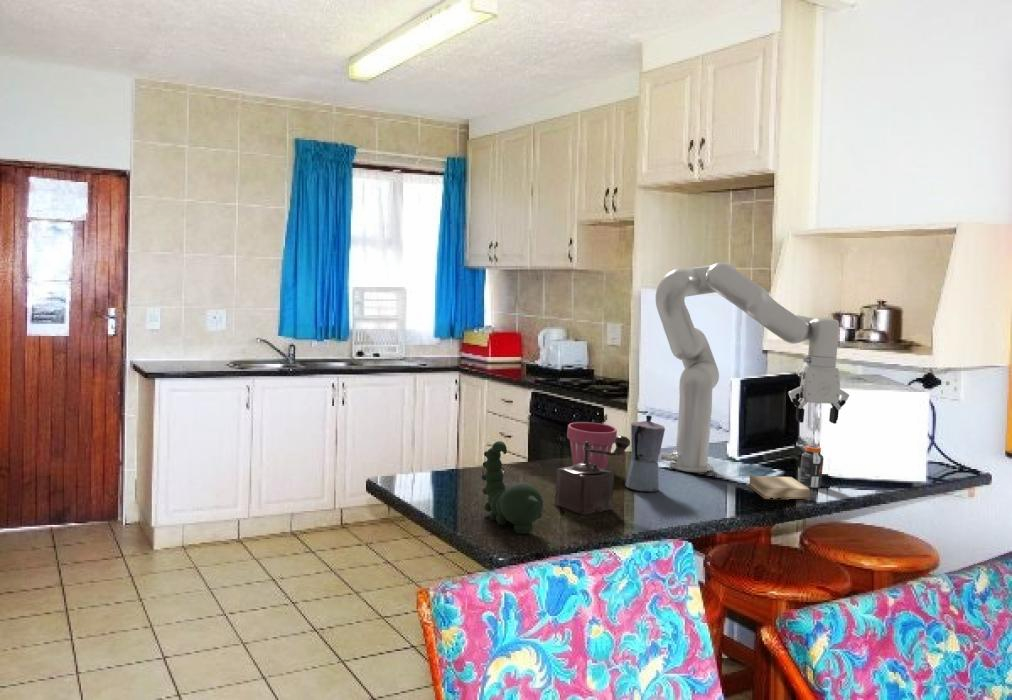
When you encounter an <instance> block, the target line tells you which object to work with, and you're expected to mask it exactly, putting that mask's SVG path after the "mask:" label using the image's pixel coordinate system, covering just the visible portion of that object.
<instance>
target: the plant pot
mask: <svg viewBox="0 0 1012 700" xmlns="http://www.w3.org/2000/svg"><path fill="white" fill-rule="evenodd" d="M566 432H567V433H566V437H567V439H568V440H569V443H570V451H571V452H570V453H571V458H572V466H574V465H576V464H578V463H581V462H583V461H584V458H585V450H584V447H585V445H584V443H585V442H586V441H587V442H589V443H590V444H589V448H590V449H592V450H593V449H594V450H602V451H607V452H612V449H613V445H614V444H615V442H614V441H615V438H616V437H617V436H618V430H617V428H616V427H615V426H613V425H610V424H605V423H600V422H589V421H576V422H571V423H569V424H567V431H566ZM609 458H610V455H605V454H600V453H591V452H589V451H588V462H589V463H594V465H597V467H598V468H601V469H604V470H606V468H607V465H608V461H609Z"/></svg>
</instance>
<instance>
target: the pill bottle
mask: <svg viewBox="0 0 1012 700" xmlns="http://www.w3.org/2000/svg"><path fill="white" fill-rule="evenodd" d="M821 451H822V448H821V446H817V445H812V444H811V445H806V446H805V451H804V452H803V453H802V454H801V459H800V460H801V461H800V468H799V469H800V470H799V479H798V480H799V481H798V482H800V483H801V484H803V485H805V486H806V487H808V488H811V489H813V488H815V489H816V488H821V486H822V478H823V467H824V459H825V458H824V456H823V454H821Z"/></svg>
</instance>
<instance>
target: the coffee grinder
mask: <svg viewBox="0 0 1012 700" xmlns="http://www.w3.org/2000/svg"><path fill="white" fill-rule="evenodd" d="M614 442H615V443H614V444H615V449H614V451H613V452H612V451H611V452H607V451H602V450H594V449H593V450H592V449H590V448H589V444H590V443H589V442H587V441H586V442H585V443H584V445H585V447H584V450H585V458H584V461H583V462H581V463H578V464H576V465H574V466H573V465H571V466H565V467H559V468H557V469H556V483H555V497H554V505H555V506H556V507H559V508H561V509H564V510H567V511H569V512H572V513H573V514H574V513H575V514H577V515H580V516H587V515H588V516H589V515H594V514H598V513H602V512H605V511H609V510H612V509H613V495H614V494H613V493H614V478H615V472H613V471H610V470H606V469H605V470H604V469H601V468H598V467H597V465H594V463H589V462H588V451H589V452H591V453H600V454H605V455H609V456H617V457H619V456H626V453H625V452H626V450H627V448H628V447H629V446H630V445H631V440H630V439H629V437H627V436H624V435H617V436H616V438H615V441H614Z"/></svg>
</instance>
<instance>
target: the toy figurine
mask: <svg viewBox="0 0 1012 700" xmlns="http://www.w3.org/2000/svg"><path fill="white" fill-rule="evenodd" d="M507 450H508V448H507V445H506V443H505V442H504V441H500V440H498V441H495V442H494V443H493V444H492V446H491V447H490V448H488V449H487V451H486V450H485V451H484V453H483V455H484V457H486V460H485V461H484V462H482V467H483V468H485V470H486V473H485V474H484V473H483V474H481V480H483V481H486V484H485V487H483V488H482V493H483V495H486V496H487V502H486V503H485V504H484V510H485V511H486V512H489V513H490V514H489V519H490V520H491V521H493V522H495V521H496V523H497V524H498V525H500V526H503V525H506V523H507V522H510V523H511V524H513V525H514V526H513V529H514V531H515V532H516V534H519V535H527V534H529V533H531V532H532V531H533V528H534V525H533V523H535V521H537V520H539V519H541V518H542V516H543V515H542V511H543V507H544V502H543V497H542V495H541V493H540V491H539V490H538V488H536V487H535V486H534V485H533V484H531V483H527V482H521V481H519V482H515V483H513V484H511V485H509V486H508V487H506V485H505V483H504V481H503V480H504V474H503V472H502V469H503V463H502V460H501V454H502V453H503V454H504V455H506V454H507V452H508V451H507ZM501 452H502V453H501Z"/></svg>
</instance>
